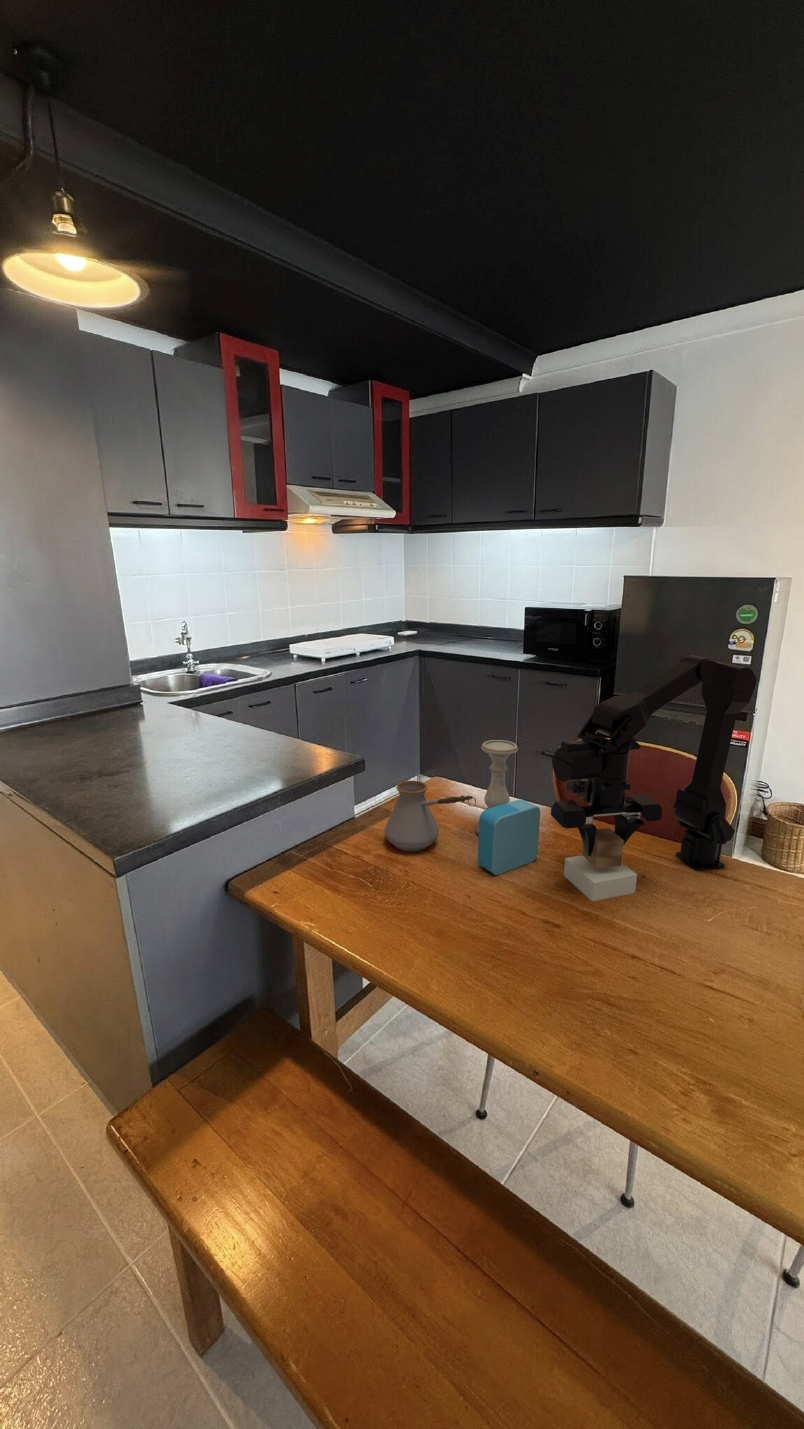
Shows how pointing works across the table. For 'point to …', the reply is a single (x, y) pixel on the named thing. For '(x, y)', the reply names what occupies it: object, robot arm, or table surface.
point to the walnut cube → (606, 849)
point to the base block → (599, 879)
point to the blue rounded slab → (508, 836)
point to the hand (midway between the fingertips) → (601, 853)
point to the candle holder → (497, 772)
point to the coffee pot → (415, 817)
